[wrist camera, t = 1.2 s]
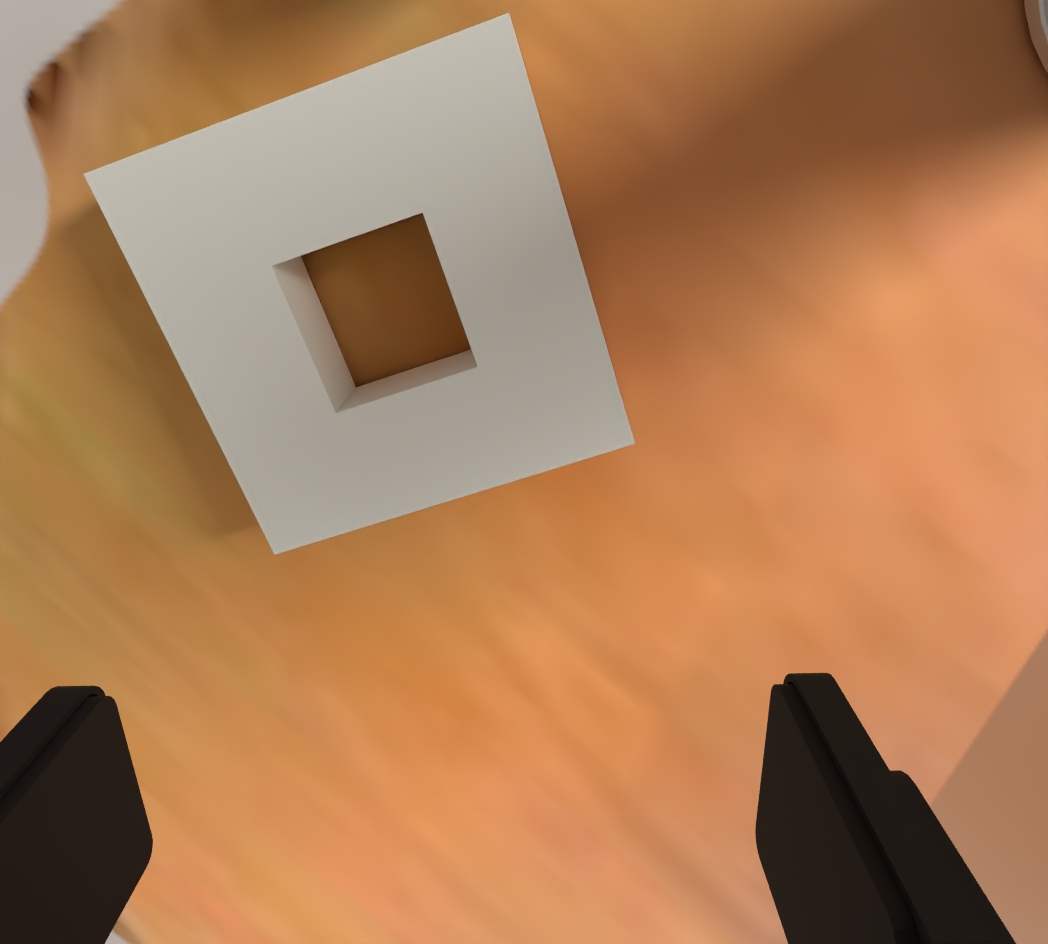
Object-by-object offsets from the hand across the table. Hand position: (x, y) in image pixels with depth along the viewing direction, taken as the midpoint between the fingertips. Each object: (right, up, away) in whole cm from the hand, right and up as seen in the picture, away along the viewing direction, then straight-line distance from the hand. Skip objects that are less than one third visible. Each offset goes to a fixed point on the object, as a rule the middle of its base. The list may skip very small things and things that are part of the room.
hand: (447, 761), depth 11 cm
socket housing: (-5, +11, +22) cm, 25 cm away
